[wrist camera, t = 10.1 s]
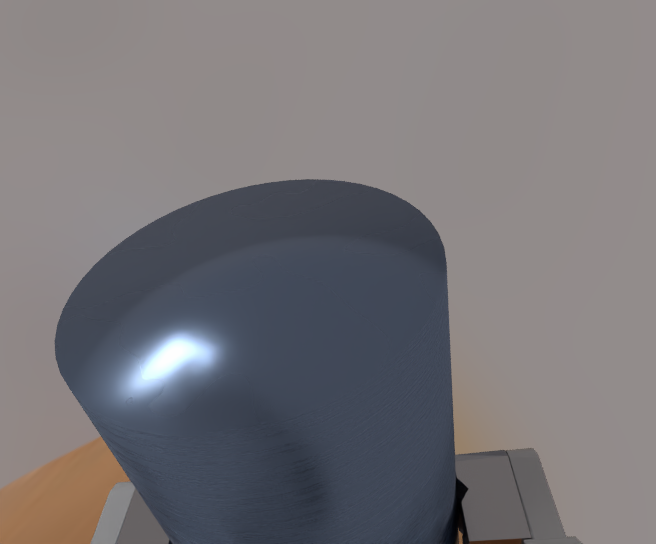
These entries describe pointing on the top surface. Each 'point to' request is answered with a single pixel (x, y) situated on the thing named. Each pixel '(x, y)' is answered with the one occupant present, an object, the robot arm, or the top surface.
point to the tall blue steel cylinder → (275, 367)
